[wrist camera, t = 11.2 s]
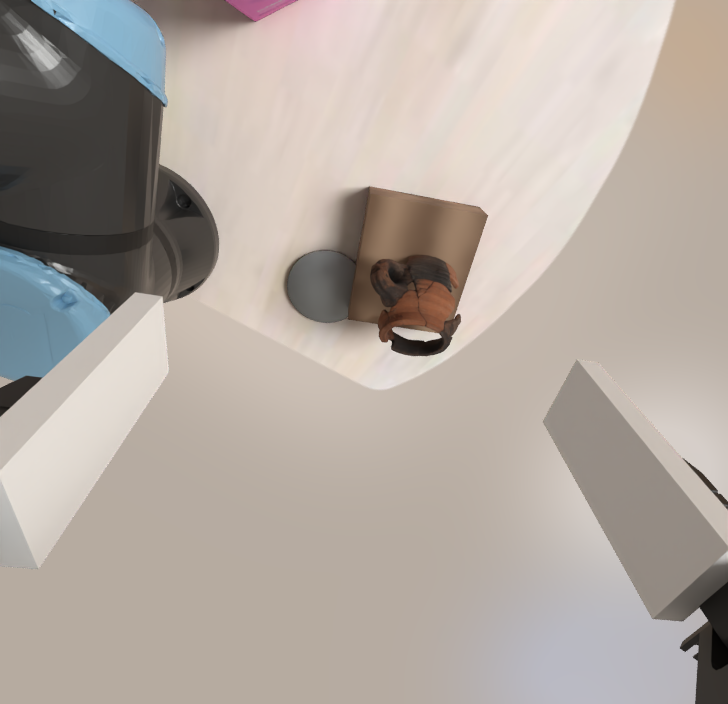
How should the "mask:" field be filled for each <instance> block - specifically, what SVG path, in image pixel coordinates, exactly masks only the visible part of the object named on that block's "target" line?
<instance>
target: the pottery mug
mask: <svg viewBox="0 0 728 704" xmlns="http://www.w3.org/2000/svg"><path fill="white" fill-rule="evenodd" d="M370 280H371V284H372V286H373V288H374V290H375V291H376V293H377V294H379V295H380V299H381V301H382V304H383V305H384V306H385V307H391V309H390V311H389V312H387V310H385V309H384V310H382V312H381V314H380V317H379V319H378V328H379V330H380V331H379V337H380V340H381V341H382V342H388V339H389V340H391V341H392V346H391V349H392V350H393V351H395V352H398V353H401V354H404V355H410V356H429V355H435V354H438V353H441V352H443V351H444V350H445V349H447V347H448V346H449V345H450V342H451V340H452V337H451V336H452V335H453V334H454V333H455V331H456V330H457V327H458V325H459V324H460V322H461V316H460V314H458V315H456V317H455V319H452V320H449V321H445V320H446V319H447V318H448V317H449V315H450V314H451V313H452V311H453V310H454V308H455V298H454V297H453V296H452V295H451V292H452V286H451V284H452V285H453V287H454V288H455V289H457V288H458V287H459V283H458V280H457V277H456V272H455V271H454V269H453V268H452V267H451V266H450V265H449V264H448V263H446V262H445V261H443V260H441V259H439V258H437V257H432V256H428V255H420V256H419V255H418V256H411V257H409V260H408V262H407V265H405V264H400V263H398V262H396V261H394V260H392V259H381V260H379V261H377V262H376V263H375V264H374V265H373V266H372V268H371V273H370ZM411 282H413V283H414V286H415V290H412V289H409V290H408V285H409V284H410V283H411ZM402 325H418V326H425V327H427V328H430V329H432V330H434V331H436V332H437V333H439V334H440V335H441V337H442V338H440V339H436V340H431V341H427V342H424V341H420V340H408V339H405V338H403V337H401V336H399V335H398V334H396V333H394V332H393V331H392V328H393V327H397V326H402Z"/></svg>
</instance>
